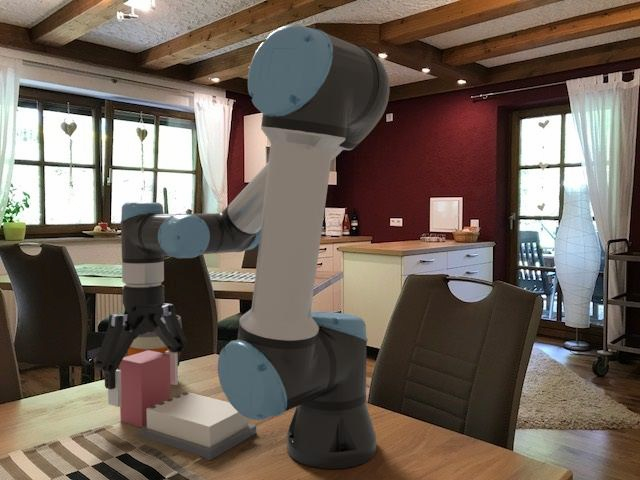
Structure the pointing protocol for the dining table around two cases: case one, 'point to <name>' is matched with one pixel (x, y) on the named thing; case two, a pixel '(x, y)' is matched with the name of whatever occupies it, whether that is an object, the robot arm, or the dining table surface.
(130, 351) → the reusable coffee cup
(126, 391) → the pink block
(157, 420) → the white notepad
